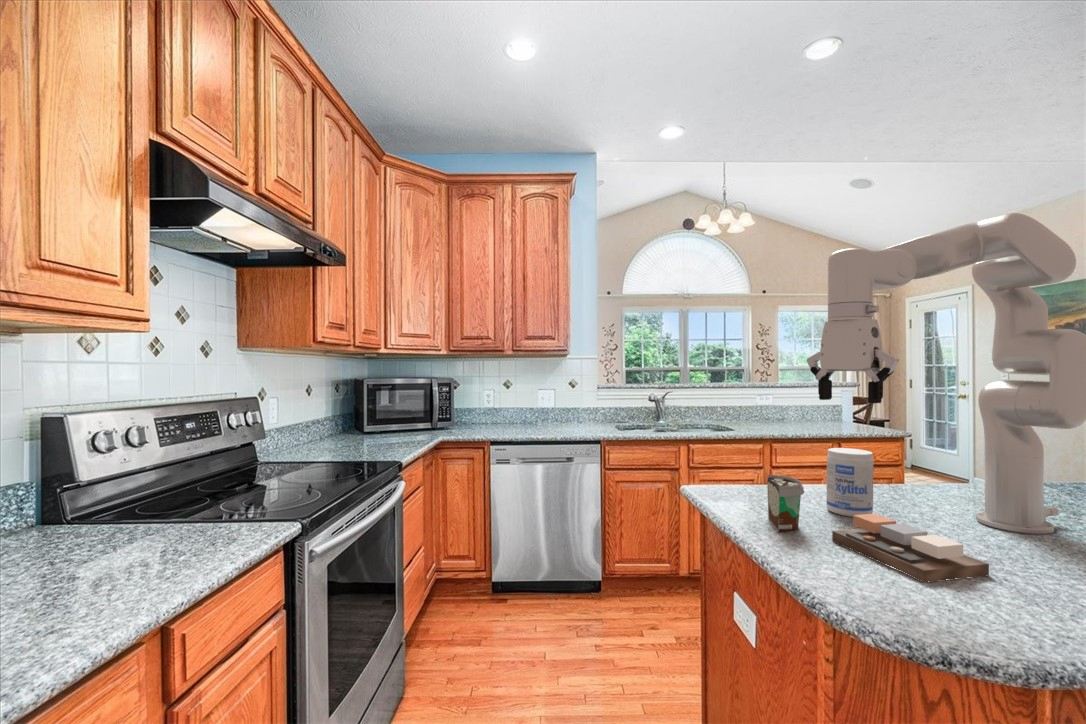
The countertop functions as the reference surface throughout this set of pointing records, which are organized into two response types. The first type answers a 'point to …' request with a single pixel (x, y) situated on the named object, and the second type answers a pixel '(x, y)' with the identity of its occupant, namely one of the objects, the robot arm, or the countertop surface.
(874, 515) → the terracotta key
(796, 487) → the food container
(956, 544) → the cream key
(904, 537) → the grey key
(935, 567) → the keypad board
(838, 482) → the supplement tub
